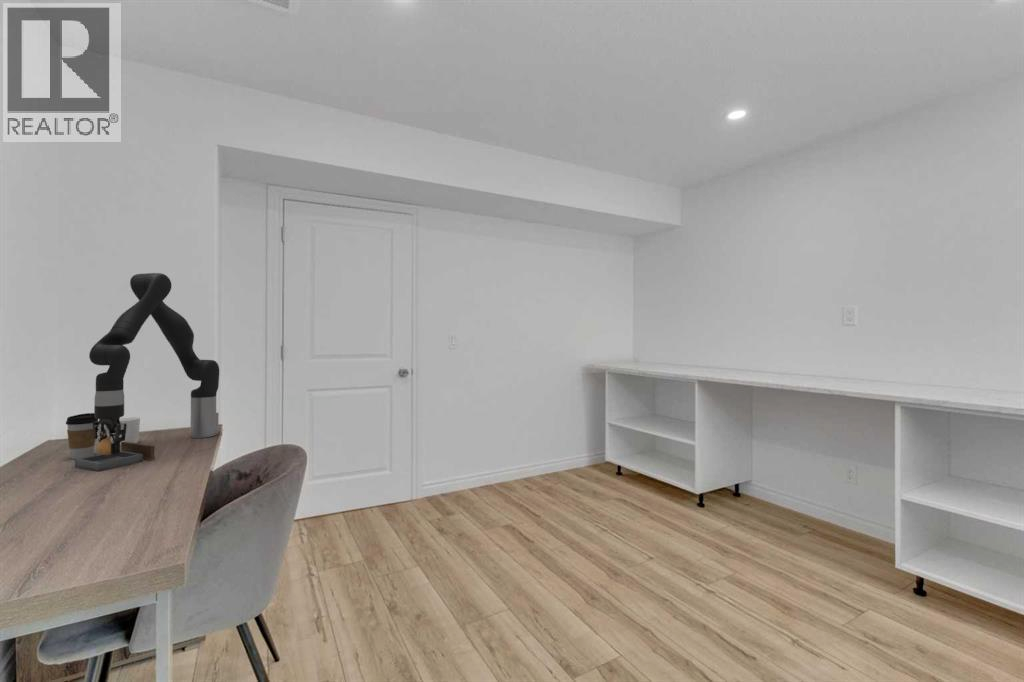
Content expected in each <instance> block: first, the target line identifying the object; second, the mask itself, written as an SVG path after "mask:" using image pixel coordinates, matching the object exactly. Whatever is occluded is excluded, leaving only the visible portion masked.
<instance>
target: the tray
mask: <svg viewBox="0 0 1024 682" xmlns="http://www.w3.org/2000/svg"><path fill="white" fill-rule="evenodd" d="M142 456H143V454H139V453H132V452H126V451H121V450H120V453H118V454H113V455H108V456H107V455H102V454H100V453H99V454H96V455H95V454H94V455H93V456H90V457H85V458H80V459H74V468H78V469H84V470H89V471H94V472H102V471H106V470H107V471H108V470H111V469H115V468H119V467H122V466H127V465H128V466H129V465H132V464H136V463H140V462H143V459H142Z"/></svg>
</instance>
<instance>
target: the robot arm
mask: <svg viewBox="0 0 1024 682" xmlns="http://www.w3.org/2000/svg"><path fill="white" fill-rule="evenodd" d="M129 285H130V288H131V291H132V293H134V295H135V297H136V298H137V300H138V301H137V302H136V303H135V304H134V305H132V306H131V307H130V308H128V309H127V310H125V311H124V312H122V314H121V315H120V316H118V318H117V319H116V321H115V322H114V324H113V325H112V327H111V329H110V330H109V331H108V332H107V334H105V335H104V336H103V337H101V338H100V339H99V340H98V341H97V342H96V343H95V344H94V345H93V346H92V347H91V349H90V351H89V360H90V362H91V363H92V364H94V365H96V366H108V369H107V371H106V372H100V373H97V375H96V377H95V394H94V412H93V413H94V417H95V418H96V419H98V421H96V422H93V434H94V439H95V440H97V441H96V442H98V443H99V442H100V441H101V440H103V439H105V438H110V440H111V454H118V453H120V451H121V448H120V442H121V441H124V440H125V435H126V426H127V425H126V423H124V424H121V423H120V419H119V418H124V416H125V392H124V391H125V390H124V378H125V374H126V372H127V369H128V366H129V364H130V360H131V352H130V350H129V349H128V347H126V345H129V344H131V343H133V342H134V340H135V339H136V337H137V335H138V333H139V332H140V330H141V328H142V327H143V325H144V324H145V323H146V321H147V320H148V318H149V317H150V316H151V317H152V319H153V320H154V322H155V323H156V324H157V327H159V330H160V331H161V333H162V335H163V336H164V337H165V339H166V340H167V342H168V343H169V345H170V347H171V348H172V350H173V351H174V353H175V354H176V356H177V358H178V361H179V362H180V364H181V367H182V368H183V371H184V373H185V375H186V376H187V377H188V378H189V379H190V380H192V381H196V382H197V381H198V382H200V386H198V387H197V388H195V389H192V390H191V391H190V433H189V435H190V438H193V439H194V438H195V439H201V438H209V437H213V436H214V437H215V436H217V435H218V434H219V417H220V416H219V412H217V393H218V390H219V385H220V384H219V383H220V365H219V364H218V362H217V361H216V360H213V359H200V358H199V357H198V356H197V354H196V353H195V351H194V348H193V347H194V341H195V333H194V330H193V329H192V328H191V326H190V324H189V322H188V321H187V319H186V318H185V317H183V316H182V314H180V313H178V312H177V311H175V310H174V309H172V308H171V307H170V306H169V305H167V304H166V303H165V302H164V300H165V299H166V298H167V297H168V295H169V294H170V292H171V290H172V281H171V279H170V277H169V276H167V275H166V274H165V273H159V272H150V273H136V274H134V275H133V276H131V278H130V281H129ZM121 434H122V437H121V436H120V435H121ZM114 438H115V439H114Z"/></svg>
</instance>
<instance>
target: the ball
mask: <svg viewBox="0 0 1024 682" xmlns="http://www.w3.org/2000/svg"><path fill="white" fill-rule="evenodd" d="M114 439H115V437H114ZM96 449H97V452H98V453H99V454H102V455H107V456H108V455H113V454H111V440H110V438H109V437H108V438H105V439H103V440H101V441H100V442H99V441H98V444H97V447H96ZM120 449H121V443H120Z"/></svg>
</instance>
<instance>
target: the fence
mask: <svg viewBox="0 0 1024 682" xmlns="http://www.w3.org/2000/svg"><path fill="white" fill-rule="evenodd" d="M155 449H156V448H155V445H154V444H153V445H152V444H147V443H140V442H138V443H133V442H126V441H124V442H121V448H120V451H126V452H132V453H139V454H143V456H142V460H144V461H145V460H146V461H155V460H156V459H155V457H156V456H155V452H156V451H155Z"/></svg>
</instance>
